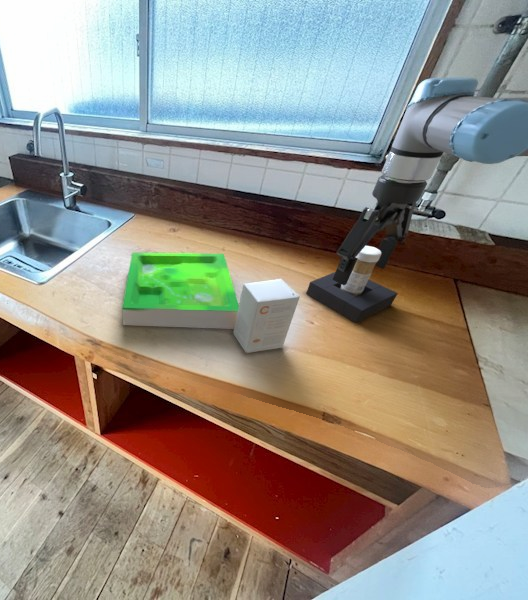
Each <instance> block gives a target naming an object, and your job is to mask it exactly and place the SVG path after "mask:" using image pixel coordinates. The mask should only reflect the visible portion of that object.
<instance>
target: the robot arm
mask: <svg viewBox="0 0 528 600" xmlns="http://www.w3.org/2000/svg"><path fill="white" fill-rule="evenodd" d="M478 85H479V81H478V80H477V78H474V77H431V78H426V79H423V81H421V82H420V83H419V84H418V85H417V87H416V89H415V92H414V93H413V96H412V98H411V100H410V102H409V103H408V104H407V106H406V110H405V113H404V116H403V118H402V120H401V122H400V125H399V127H398V130H397V132H396V135H395V137H394V140H393V141H392V145H391V148H390V149H389V150H390V151H389V152H388V154H387V155H386V156H385V158H384V159H385V162H384V165H383V167H382V169H381V175H380V176H378V178H377V180H376V183H375V186H374V188H373V190H372V193H371V195H372V197H374V198H375V199H376V203H375V205H374V206H373V208H371V207H367V206H366V207H364V208H363V210H362V211H361V214H360V215H359V218H358V220H357V221H356V222H355V224H354V225H353V227H352V228H351V229H350V231H349V233H348V234H347V236H346V237H345V239H344V240H343V241H342V243H341V244H340V246H339V248H338V249H337V250H336V255H339V256H340V257H341V258H340V260H339V263H338V265H337V268H336V270H335V271H334V272H335V275H334V277H333V280H334V281H336V282H338V283H340V284H342V285H346V284H347V282H348V279H349V277H350V275H351V273H352V270H353V268H354V266H355V264H356V261H357V259H358V258H356V256H357V255H358V254H359V253H360V251H361V250H362V249H363V248H364V247H365V246H367V245H368V244H369V242H370V241H371V240H372V239H373V237H374V236H375V235H376V234H377V233H381V232H382V230H384V228H385V237H383V238H382V239H381V242H380V243H379V246H378V247H377V249H379V250H380V251H381V256H380V258H379V260H378V261H377V263H376V264H375V266H374V267H376V268H380V269H381V270H383V269H386V266H387V264H388V262H389V260H390V258H391V256H392V254H393V253H394V251H395V248H396V247H397V245H398V243H401V244H403V243H404V242H405V240H406V237H407V236H408V234H409V229H410V227H411V221H412V219H413V218H412V216H413V213H414V209H415V206H416V204H417V203H418V202H419V201H420V200H421V197H422V196H423V193H424V191H425V189H426V188H427V186H428V183H427V181H428V180H430V179H431V178H432V176H433V174H434V173H435V170H436V169H437V167H438V165H439V162H440V160H441V159H442V158H443V157H442V156H443V154H444V153H446V154H449V155H451V156H453V157H457V158H459V159H461V160H462V159H463V161H466V162H470V163H473V162H475V163H480V164H485V165H496V164H500V163H503V162H505V161H508V160H510V159H512V158H517V157H528V96H526V97H525V96H524V97H523V96H521V97H485V96H475V95H476V90H477V89H478V88H477V87H478Z"/></svg>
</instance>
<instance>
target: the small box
mask: <svg viewBox="0 0 528 600" xmlns="http://www.w3.org/2000/svg"><path fill="white" fill-rule="evenodd" d="M299 300H300V295H299V294H298V293H297V292H296V291H295V290H294V289H293V288H292V287H291V286H290V285H289V284H287V282H285V281H284V280H283V279H282V278H276V279H270V280H262V281H254V282H253V281H252V282H245V283H243V284H242V289H241V294H240V299H239V302H238V304H239V308H238V313H237V317H236V323H235V328H234V329H233V335H234V337H235V338H236V340H237V341H238V343H239V345H240V346H241V348H242V349H243V351H244V352H245V354H251V353H257V352H264V351H269V350H276V349H281V348H283V347H284V344H285V341H286V338H287V335H288V332H289V330H290V326H291V324H292V320H293V318H294V315H295V313H296V309H297V306H298V303H299Z"/></svg>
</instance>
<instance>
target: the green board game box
mask: <svg viewBox="0 0 528 600" xmlns="http://www.w3.org/2000/svg"><path fill="white" fill-rule="evenodd" d="M127 274H128V275H127V278H126V279H127V280H126V284H125V291H124V296H123V302H122V307H121V311H122V325H123V326H137V327H139V326H141V327H165V328H167V327H168V328H194V329H195V328H197V329H220V330H221V329H225V330H226V329H227V330H234V328H235V323H236V317H237V313H238V308H239V301H238V298H237V295H236V291H235V288H234V284H233V280H232V277H231V274H230V270H229V267H228V263H227V259H226V256H225V253H203V252H202V253H194V252H192V253H191V252H131V258H130V262H129V267H128V273H127Z"/></svg>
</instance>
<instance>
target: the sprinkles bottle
mask: <svg viewBox="0 0 528 600" xmlns="http://www.w3.org/2000/svg"><path fill="white" fill-rule="evenodd" d="M380 256H381V251H380V250H379V249H378V247H375V246H371V245H366V246H365V247H364V248H363V249H362V250H361V251H360V253H359V254H358V255H357V256H356V258H358V259H357V261H356V264H355V266H354V268H353V270H352V273H351V275H350V277H349V279H348V282H347V284H346V285H341V288H340V289H342V290H344V291H345V292H347V293H349V294H351V295H353V296H355V297H359V296H360V295H361V293H362V292H363V290H364V288H365V286H366V284H367V282H368V280H370V277H371V276H372V273H373V270H374V268H375V267H376V266H375V264H376V263H377V261H378V260H379V258H380Z"/></svg>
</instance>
